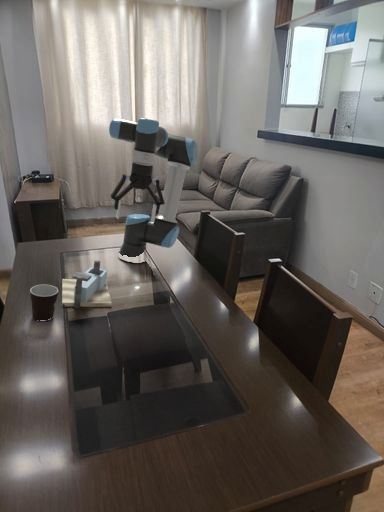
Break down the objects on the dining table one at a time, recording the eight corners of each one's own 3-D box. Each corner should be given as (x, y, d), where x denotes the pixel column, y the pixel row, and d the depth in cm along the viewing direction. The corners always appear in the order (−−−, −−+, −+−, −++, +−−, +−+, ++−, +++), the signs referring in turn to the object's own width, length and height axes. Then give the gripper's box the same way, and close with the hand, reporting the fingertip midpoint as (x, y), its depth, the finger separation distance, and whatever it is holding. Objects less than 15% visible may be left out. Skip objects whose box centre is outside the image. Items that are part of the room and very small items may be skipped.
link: (89, 280, 150) (90, 267, 148) (105, 283, 150) (107, 270, 148) (70, 299, 132) (71, 284, 130) (88, 303, 132) (90, 289, 130)
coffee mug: (47, 326, 116) (48, 298, 113) (23, 319, 118) (24, 292, 114) (66, 310, 127) (68, 285, 124) (44, 304, 128) (45, 279, 125)
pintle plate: (62, 282, 147) (64, 255, 143) (105, 283, 153) (108, 257, 149) (62, 308, 128) (64, 278, 124) (111, 309, 134) (115, 280, 130)
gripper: (109, 159, 123) (103, 219, 130) (178, 170, 132) (168, 225, 139) (106, 156, 129) (101, 213, 136) (172, 166, 138) (164, 219, 145)
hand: (135, 219), depth 137 cm, fingers open, 13 cm apart
